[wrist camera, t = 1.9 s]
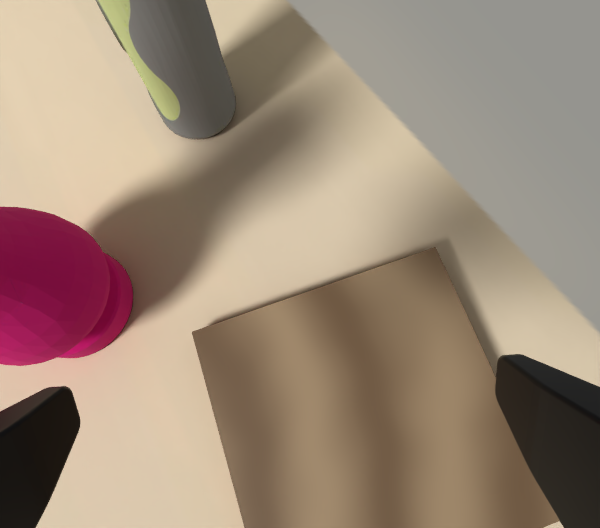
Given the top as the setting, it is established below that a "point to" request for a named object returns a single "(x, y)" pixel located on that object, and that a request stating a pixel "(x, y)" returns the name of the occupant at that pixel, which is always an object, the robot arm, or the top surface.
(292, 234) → the top surface
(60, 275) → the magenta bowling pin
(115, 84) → the top surface
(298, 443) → the taupe cutting board
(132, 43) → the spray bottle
